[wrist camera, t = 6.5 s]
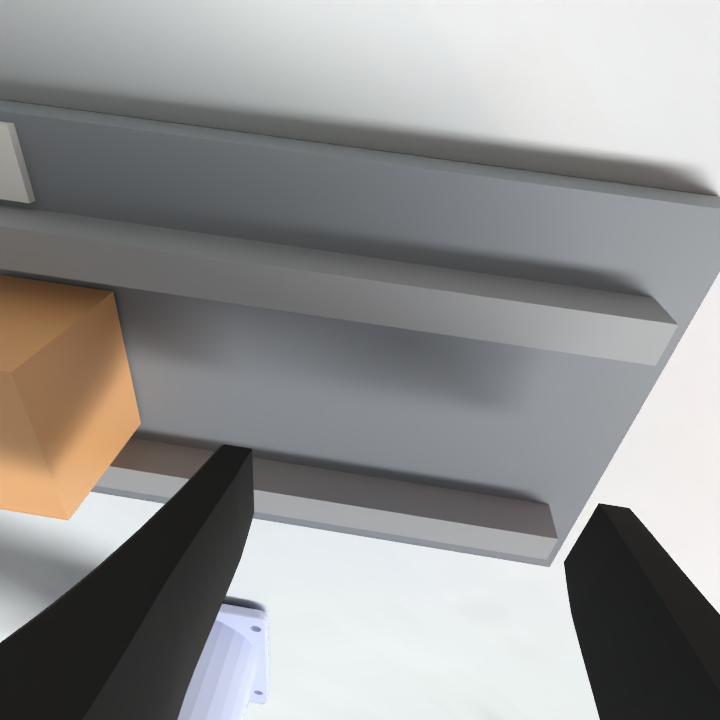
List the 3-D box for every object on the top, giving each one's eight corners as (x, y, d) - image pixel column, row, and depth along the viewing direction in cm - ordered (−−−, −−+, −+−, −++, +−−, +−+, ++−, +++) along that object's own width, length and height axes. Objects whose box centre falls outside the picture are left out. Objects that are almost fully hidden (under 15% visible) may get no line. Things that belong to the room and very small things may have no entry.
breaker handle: (140, 423, 14) (68, 520, 11) (44, 407, 14) (-52, 500, 11) (113, 291, 12) (11, 372, 9) (-3, 274, 12) (-142, 348, 9)
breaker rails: (542, 536, 17) (558, 601, 15) (-97, 432, 18) (-162, 481, 16) (720, 197, 10) (792, 234, 8) (-324, 55, 11) (-487, 58, 9)
